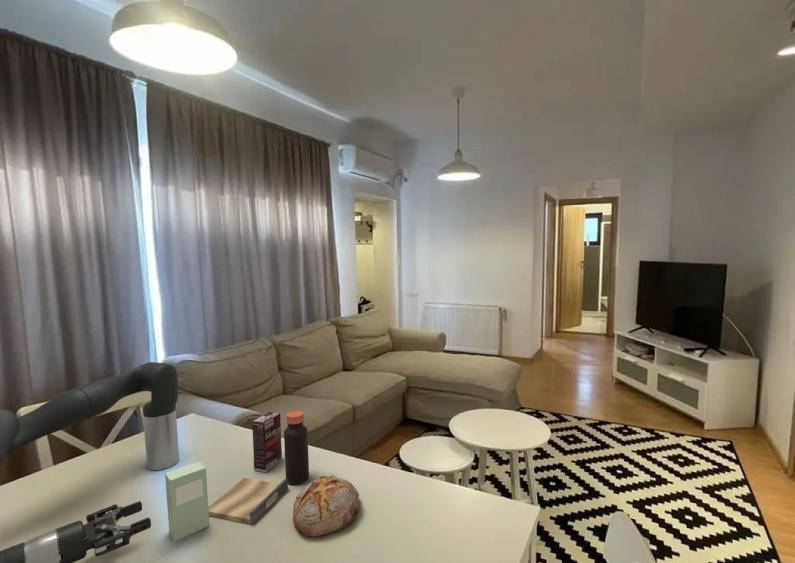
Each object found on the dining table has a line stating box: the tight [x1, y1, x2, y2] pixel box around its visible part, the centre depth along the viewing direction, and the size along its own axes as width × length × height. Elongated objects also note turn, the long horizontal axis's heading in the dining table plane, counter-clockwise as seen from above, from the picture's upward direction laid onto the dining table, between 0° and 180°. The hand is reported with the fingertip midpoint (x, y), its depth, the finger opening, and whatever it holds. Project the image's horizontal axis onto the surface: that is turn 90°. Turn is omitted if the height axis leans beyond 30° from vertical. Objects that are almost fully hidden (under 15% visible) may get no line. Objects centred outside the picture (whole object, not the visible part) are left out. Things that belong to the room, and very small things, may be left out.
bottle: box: [283, 410, 310, 486], centre depth 124 cm, size 7×7×20 cm
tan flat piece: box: [208, 477, 289, 525], centre depth 114 cm, size 15×16×3 cm
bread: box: [292, 474, 360, 537], centre depth 107 cm, size 16×20×10 cm
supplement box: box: [251, 411, 283, 473], centre depth 132 cm, size 9×5×16 cm, turn 160°
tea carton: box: [164, 460, 210, 542], centre depth 102 cm, size 4×8×15 cm, turn 133°
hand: (146, 513), depth 96 cm, fingers open, 8 cm apart
